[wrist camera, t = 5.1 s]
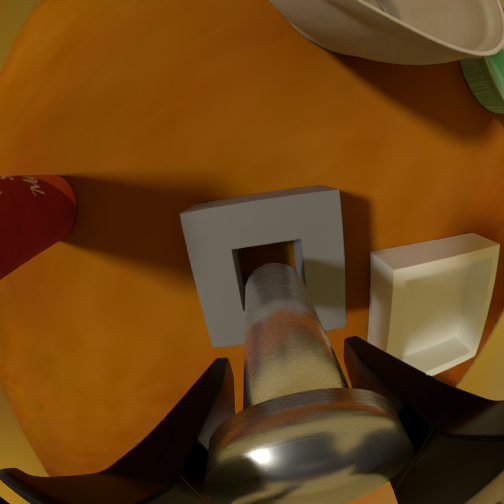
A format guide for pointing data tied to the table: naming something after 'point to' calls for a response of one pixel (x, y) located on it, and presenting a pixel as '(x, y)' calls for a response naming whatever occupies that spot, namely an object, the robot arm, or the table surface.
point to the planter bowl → (400, 28)
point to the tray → (432, 300)
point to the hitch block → (259, 233)
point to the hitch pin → (299, 411)
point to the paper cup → (33, 216)
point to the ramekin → (486, 80)
